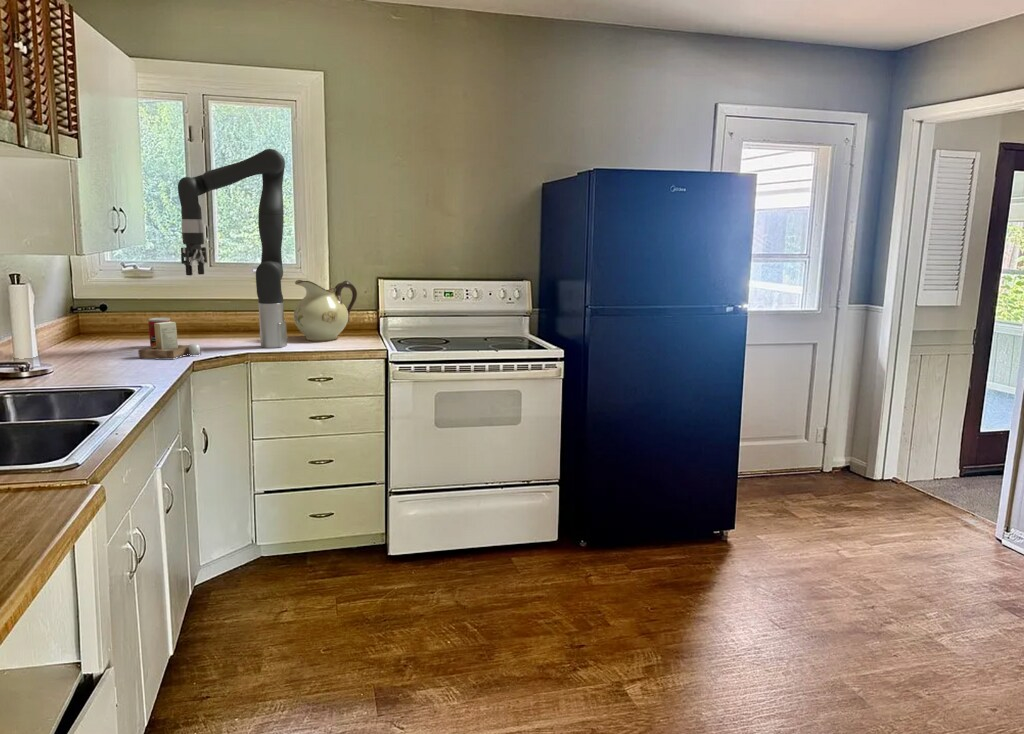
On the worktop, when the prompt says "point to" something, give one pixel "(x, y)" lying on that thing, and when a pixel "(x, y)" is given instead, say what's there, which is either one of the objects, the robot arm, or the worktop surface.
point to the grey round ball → (194, 349)
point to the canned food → (152, 329)
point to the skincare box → (166, 335)
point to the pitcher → (323, 311)
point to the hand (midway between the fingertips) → (195, 274)
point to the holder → (164, 352)
